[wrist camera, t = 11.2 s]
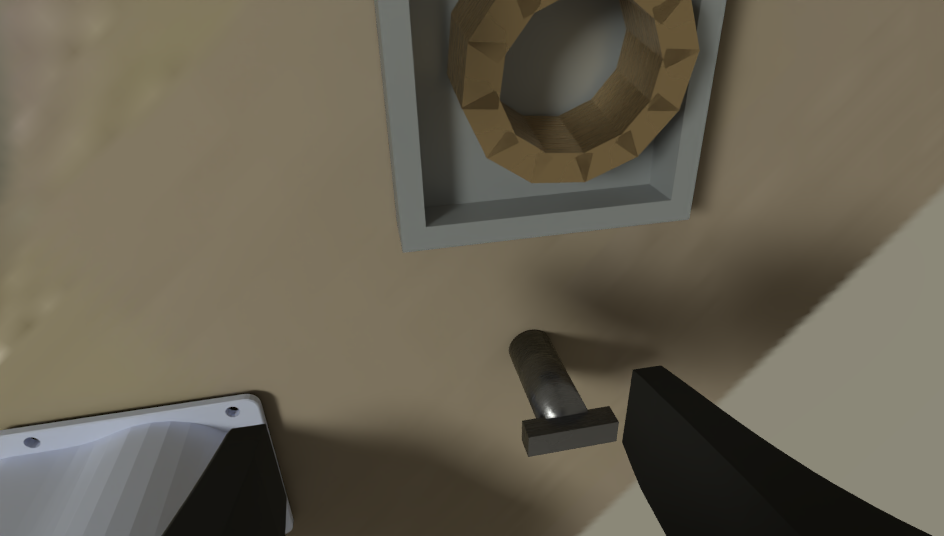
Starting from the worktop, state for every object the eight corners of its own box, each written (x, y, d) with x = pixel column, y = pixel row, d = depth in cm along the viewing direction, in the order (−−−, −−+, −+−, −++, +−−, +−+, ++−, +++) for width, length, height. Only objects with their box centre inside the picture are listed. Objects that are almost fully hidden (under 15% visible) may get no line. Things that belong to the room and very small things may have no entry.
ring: (441, 144, 18) (457, 194, 16) (465, -197, 13) (494, -194, 11) (623, 143, 20) (661, 189, 18) (713, -166, 14) (786, -158, 12)
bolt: (493, 370, 24) (527, 465, 20) (492, 335, 23) (528, 427, 19) (564, 359, 25) (615, 450, 20) (566, 325, 24) (620, 412, 19)
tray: (397, 224, 20) (402, 252, 18) (355, -180, 15) (357, -199, 13) (659, 196, 22) (689, 219, 20) (711, -178, 16) (759, -196, 14)
